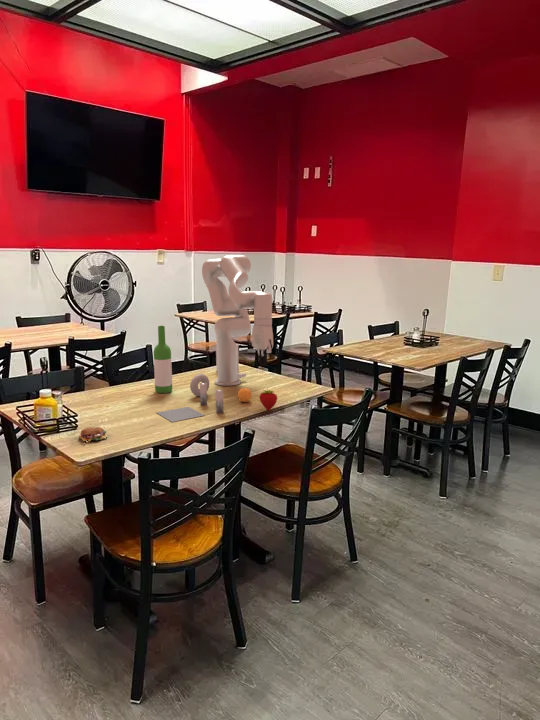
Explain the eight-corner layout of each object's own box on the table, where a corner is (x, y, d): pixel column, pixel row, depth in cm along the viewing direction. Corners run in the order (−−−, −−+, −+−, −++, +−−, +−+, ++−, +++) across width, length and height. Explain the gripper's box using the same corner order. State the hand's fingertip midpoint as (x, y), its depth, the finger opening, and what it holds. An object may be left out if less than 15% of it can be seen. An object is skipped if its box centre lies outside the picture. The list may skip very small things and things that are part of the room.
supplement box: (231, 369, 287) (230, 341, 284) (239, 372, 280) (238, 344, 277) (215, 371, 283) (215, 343, 280) (223, 374, 275) (223, 346, 272)
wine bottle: (174, 389, 246) (172, 325, 240) (168, 394, 238) (166, 327, 232) (158, 388, 247) (156, 324, 241) (152, 393, 240) (149, 327, 233)
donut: (193, 399, 231) (193, 376, 229) (188, 397, 233) (188, 375, 231) (211, 394, 238) (210, 372, 236) (206, 393, 240) (205, 371, 238)
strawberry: (272, 414, 210) (273, 389, 208) (256, 411, 214) (256, 387, 212) (280, 410, 215) (280, 386, 213) (263, 407, 219) (263, 384, 217)
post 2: (221, 410, 214) (220, 389, 212) (224, 412, 212) (224, 390, 210) (215, 412, 213) (214, 390, 211) (218, 413, 210) (218, 391, 209)
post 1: (205, 403, 225) (204, 382, 223) (208, 404, 223) (207, 383, 221) (199, 404, 223) (198, 383, 221) (202, 405, 221) (201, 384, 219)
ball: (246, 399, 231) (246, 385, 230) (254, 402, 226) (254, 388, 225) (234, 401, 228) (234, 387, 226) (242, 404, 223) (242, 390, 221)
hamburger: (64, 439, 184) (62, 423, 182) (104, 431, 192) (103, 415, 190) (76, 452, 172) (75, 434, 171) (118, 442, 181) (117, 425, 179)
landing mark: (188, 407, 219) (188, 406, 219) (204, 415, 208) (204, 415, 208) (156, 413, 211) (156, 412, 211) (171, 422, 200) (171, 421, 200)
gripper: (245, 320, 229) (246, 362, 233) (265, 325, 217) (265, 369, 221) (260, 319, 233) (260, 360, 237) (280, 323, 221) (280, 366, 225)
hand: (262, 364), depth 229 cm, fingers closed
